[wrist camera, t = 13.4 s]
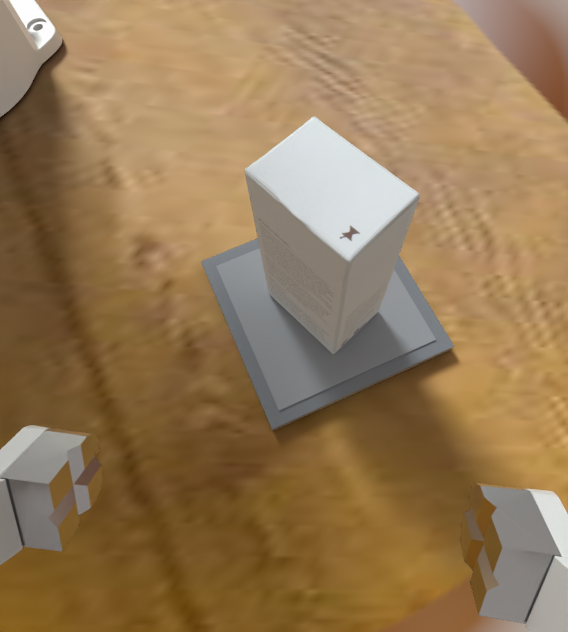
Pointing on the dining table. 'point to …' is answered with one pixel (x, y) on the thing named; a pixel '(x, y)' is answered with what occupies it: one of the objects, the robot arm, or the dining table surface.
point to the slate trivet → (306, 351)
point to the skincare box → (328, 229)
